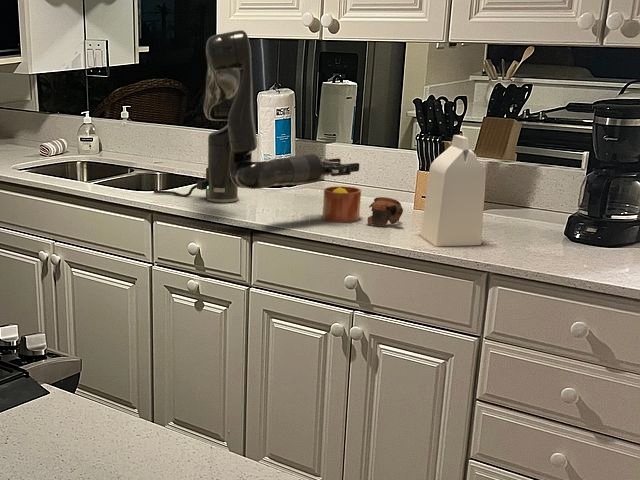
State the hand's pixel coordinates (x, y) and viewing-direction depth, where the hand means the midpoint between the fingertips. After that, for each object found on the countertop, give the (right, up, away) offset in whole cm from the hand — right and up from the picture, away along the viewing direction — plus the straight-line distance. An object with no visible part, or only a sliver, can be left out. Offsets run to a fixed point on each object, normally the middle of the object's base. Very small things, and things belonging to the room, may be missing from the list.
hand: (349, 164), depth 260 cm
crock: (-1, -14, +5) cm, 15 cm away
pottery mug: (+10, -17, -3) cm, 20 cm away
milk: (+22, -24, -20) cm, 38 cm away
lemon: (-1, -14, +4) cm, 14 cm away
